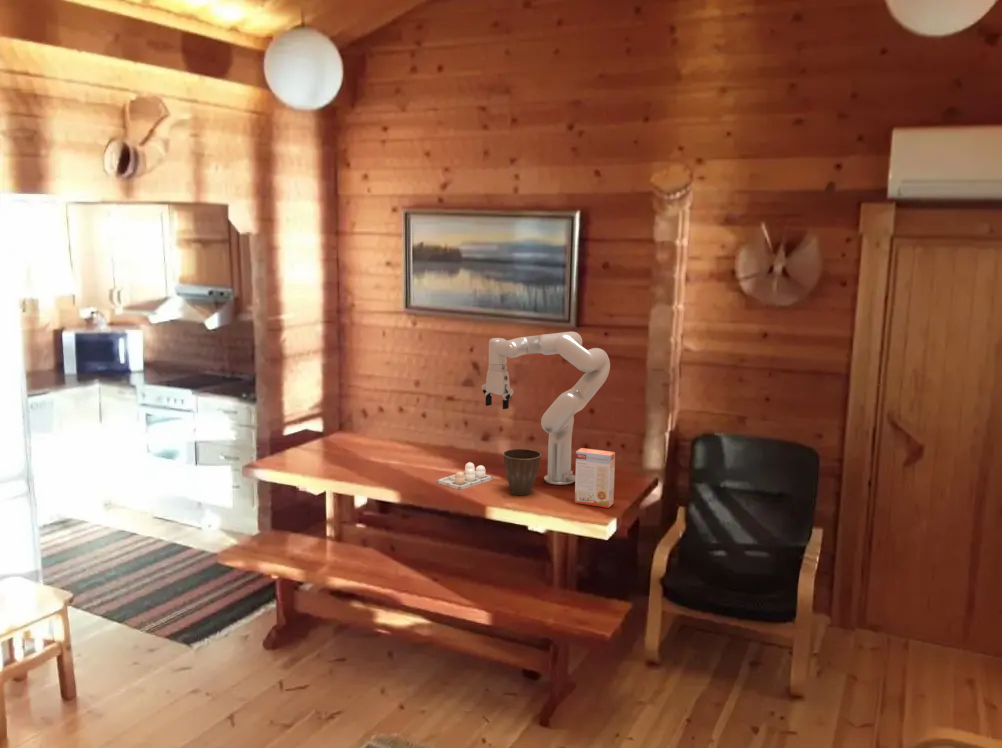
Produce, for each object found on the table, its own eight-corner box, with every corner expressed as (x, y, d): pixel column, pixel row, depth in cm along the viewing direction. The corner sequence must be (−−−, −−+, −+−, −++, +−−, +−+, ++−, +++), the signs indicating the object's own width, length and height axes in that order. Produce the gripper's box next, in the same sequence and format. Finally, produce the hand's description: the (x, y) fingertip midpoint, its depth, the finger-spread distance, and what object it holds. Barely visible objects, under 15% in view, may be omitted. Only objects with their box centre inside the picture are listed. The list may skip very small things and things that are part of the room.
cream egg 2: (477, 482, 356) (477, 468, 355) (470, 484, 353) (470, 470, 352) (470, 480, 359) (470, 466, 357) (463, 482, 356) (463, 468, 355)
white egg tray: (492, 481, 361) (492, 476, 360) (459, 492, 346) (459, 486, 346) (469, 475, 369) (469, 470, 369) (436, 485, 355) (436, 479, 355)
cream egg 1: (476, 476, 364) (476, 462, 363) (470, 478, 361) (470, 464, 360) (469, 474, 367) (469, 460, 366) (463, 476, 364) (463, 462, 363)
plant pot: (539, 487, 354) (540, 449, 352) (540, 498, 340) (541, 459, 337) (502, 486, 354) (503, 448, 352) (502, 498, 340) (503, 458, 337)
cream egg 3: (487, 479, 360) (487, 465, 359) (480, 481, 357) (480, 467, 356) (480, 477, 363) (480, 463, 362) (473, 479, 360) (473, 465, 359)
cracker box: (613, 504, 334) (616, 451, 331) (608, 508, 329) (610, 455, 325) (579, 498, 341) (581, 446, 337) (574, 503, 335) (575, 450, 332)
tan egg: (466, 485, 351) (466, 471, 350) (459, 488, 348) (459, 473, 347) (459, 483, 354) (459, 469, 353) (452, 485, 351) (452, 471, 350)
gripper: (518, 368, 365) (518, 408, 368) (488, 364, 376) (488, 402, 379) (507, 371, 359) (506, 411, 362) (476, 366, 371) (476, 405, 374)
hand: (497, 407), depth 371 cm, fingers open, 9 cm apart
